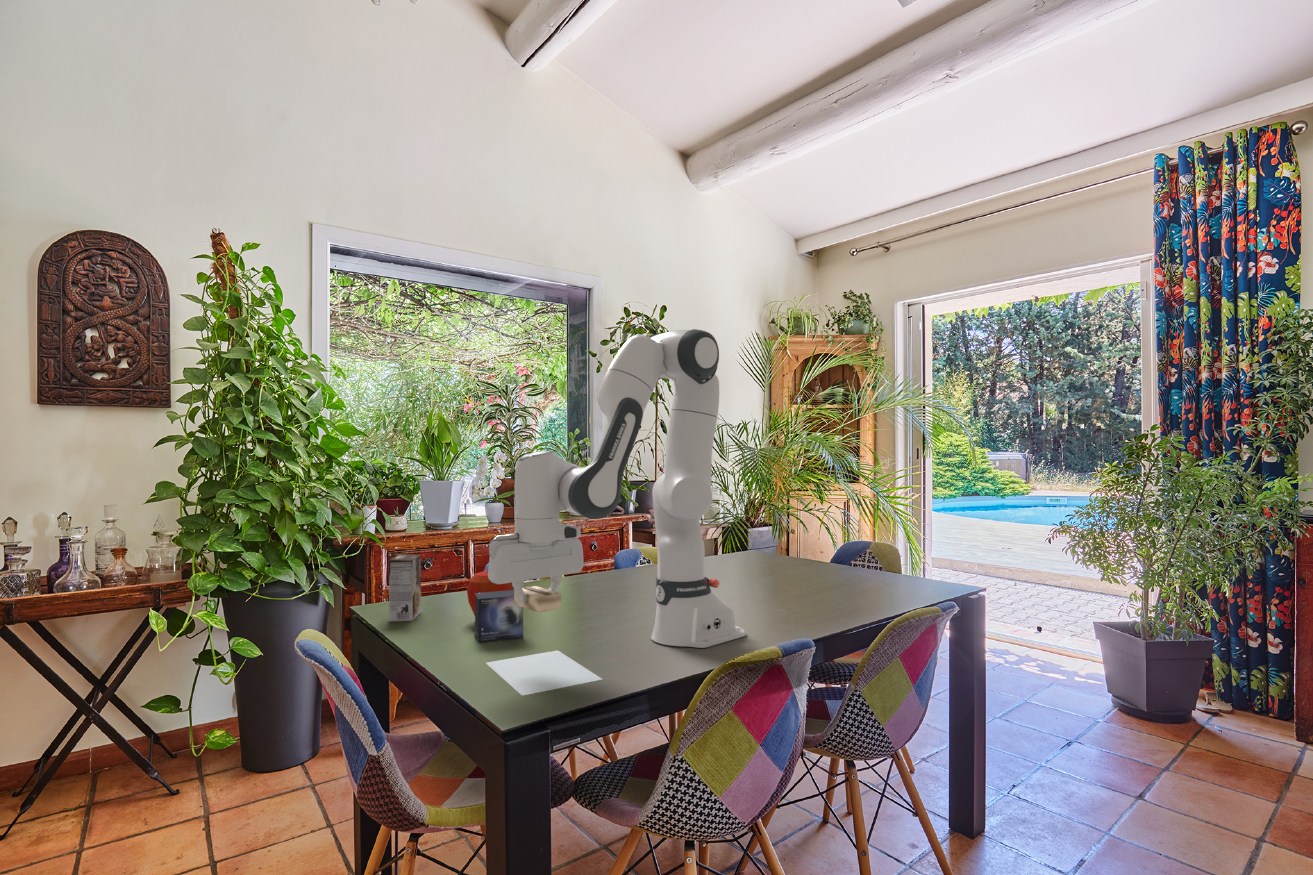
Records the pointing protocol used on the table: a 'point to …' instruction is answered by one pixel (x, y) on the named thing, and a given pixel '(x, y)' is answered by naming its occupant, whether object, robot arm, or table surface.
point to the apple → (483, 587)
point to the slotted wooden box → (540, 599)
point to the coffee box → (404, 587)
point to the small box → (497, 617)
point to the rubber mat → (542, 672)
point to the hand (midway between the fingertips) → (537, 600)
